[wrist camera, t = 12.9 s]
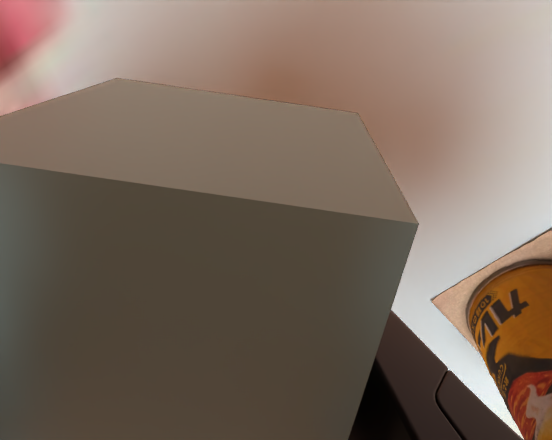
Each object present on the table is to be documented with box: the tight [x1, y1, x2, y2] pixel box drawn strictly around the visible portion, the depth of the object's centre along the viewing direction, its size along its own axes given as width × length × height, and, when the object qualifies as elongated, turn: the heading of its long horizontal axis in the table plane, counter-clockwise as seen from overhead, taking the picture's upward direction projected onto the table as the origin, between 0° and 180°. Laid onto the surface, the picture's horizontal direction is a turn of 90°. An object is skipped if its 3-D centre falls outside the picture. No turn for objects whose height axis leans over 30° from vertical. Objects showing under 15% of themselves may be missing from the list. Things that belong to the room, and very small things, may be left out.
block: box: [0, 78, 419, 440], centre depth 7 cm, size 5×5×5 cm
